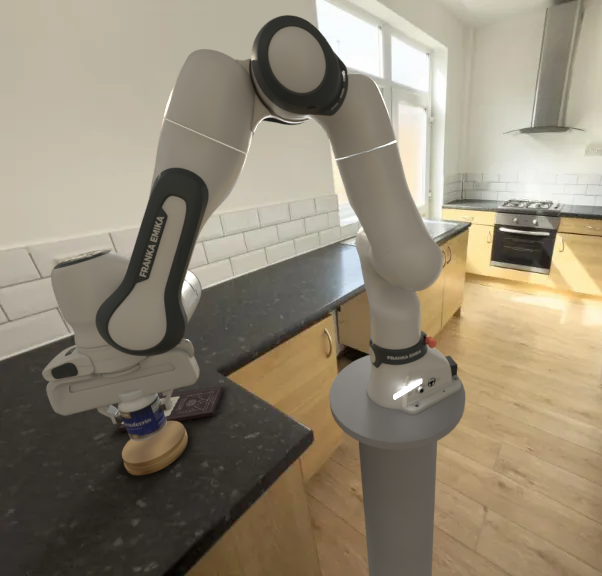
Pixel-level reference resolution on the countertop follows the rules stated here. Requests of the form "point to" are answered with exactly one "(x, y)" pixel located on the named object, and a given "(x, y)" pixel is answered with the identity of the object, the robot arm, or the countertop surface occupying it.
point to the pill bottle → (141, 415)
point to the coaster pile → (155, 450)
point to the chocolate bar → (190, 405)
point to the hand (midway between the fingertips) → (143, 414)
